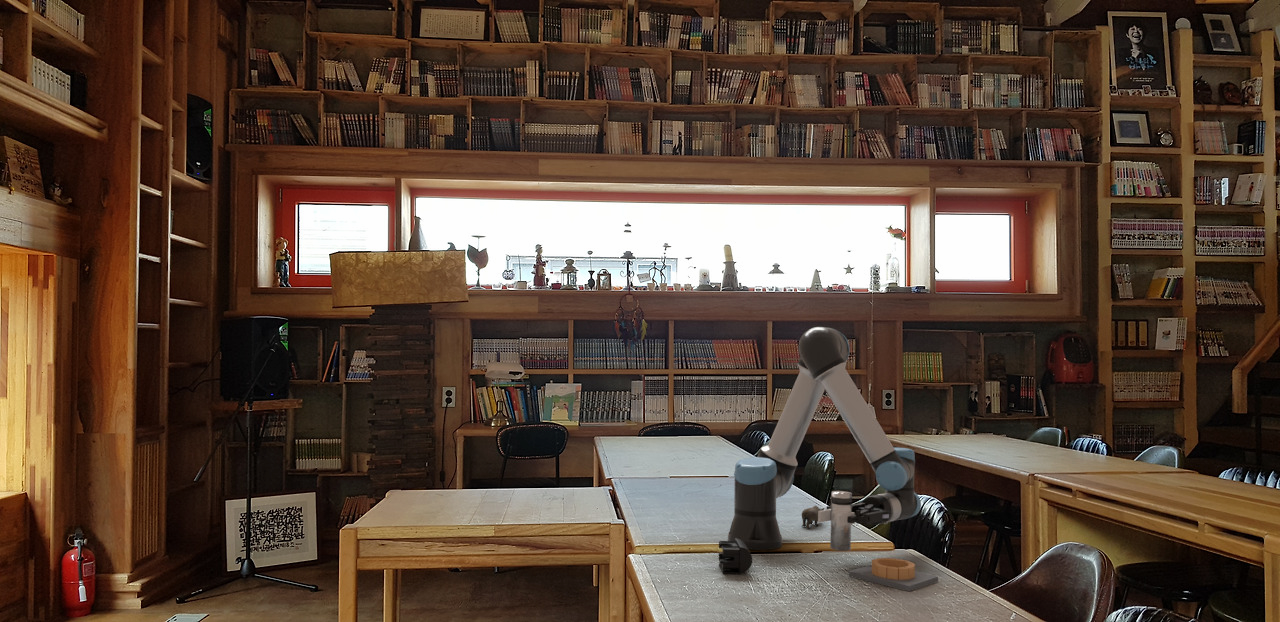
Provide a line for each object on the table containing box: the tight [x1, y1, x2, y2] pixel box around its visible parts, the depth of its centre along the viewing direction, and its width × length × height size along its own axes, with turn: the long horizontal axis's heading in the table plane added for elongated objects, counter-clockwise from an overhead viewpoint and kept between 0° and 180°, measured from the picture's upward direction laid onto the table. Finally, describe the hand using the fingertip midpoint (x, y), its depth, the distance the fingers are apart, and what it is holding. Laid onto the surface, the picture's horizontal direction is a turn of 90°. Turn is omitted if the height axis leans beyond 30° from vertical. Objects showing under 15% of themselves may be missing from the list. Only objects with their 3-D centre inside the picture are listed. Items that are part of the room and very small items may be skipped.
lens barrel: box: [829, 490, 853, 552], centre depth 205 cm, size 5×5×14 cm
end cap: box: [718, 538, 753, 576], centre depth 199 cm, size 10×7×7 cm
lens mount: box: [848, 557, 939, 592], centre depth 193 cm, size 16×13×4 cm
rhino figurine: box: [801, 505, 825, 529], centre depth 255 cm, size 4×14×6 cm, turn 145°
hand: (828, 518), depth 202 cm, fingers closed on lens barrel, 5 cm apart
